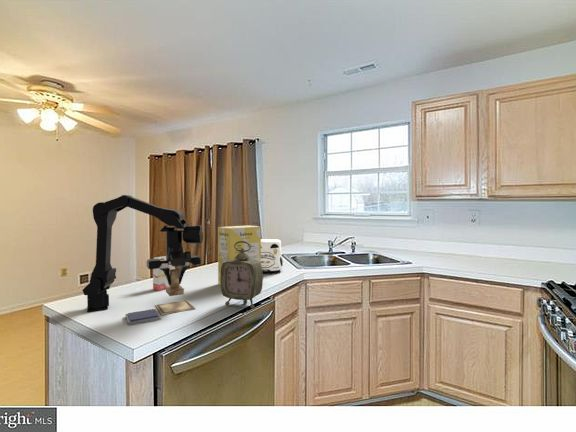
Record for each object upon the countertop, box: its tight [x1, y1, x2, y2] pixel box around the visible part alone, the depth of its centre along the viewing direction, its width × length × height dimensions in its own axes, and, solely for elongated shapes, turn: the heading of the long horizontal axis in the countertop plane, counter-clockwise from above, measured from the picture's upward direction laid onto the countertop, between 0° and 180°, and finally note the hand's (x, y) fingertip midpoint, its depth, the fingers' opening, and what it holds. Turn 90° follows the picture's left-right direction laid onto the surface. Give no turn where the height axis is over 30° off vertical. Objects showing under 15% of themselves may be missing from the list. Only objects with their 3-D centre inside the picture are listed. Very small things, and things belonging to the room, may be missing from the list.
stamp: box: [165, 268, 185, 297], centre depth 120 cm, size 5×7×9 cm
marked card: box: [155, 299, 196, 316], centre depth 120 cm, size 12×12×1 cm
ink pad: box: [125, 308, 162, 326], centre depth 109 cm, size 10×9×1 cm
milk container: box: [261, 238, 284, 273], centre depth 185 cm, size 17×17×18 cm
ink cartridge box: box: [152, 255, 176, 292], centre depth 148 cm, size 9×5×15 cm, turn 145°
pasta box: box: [217, 225, 262, 286], centre depth 158 cm, size 18×10×28 cm, turn 134°
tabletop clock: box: [220, 241, 264, 310], centre depth 123 cm, size 14×9×25 cm, turn 71°
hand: (174, 284), depth 120 cm, fingers closed on stamp, 3 cm apart
